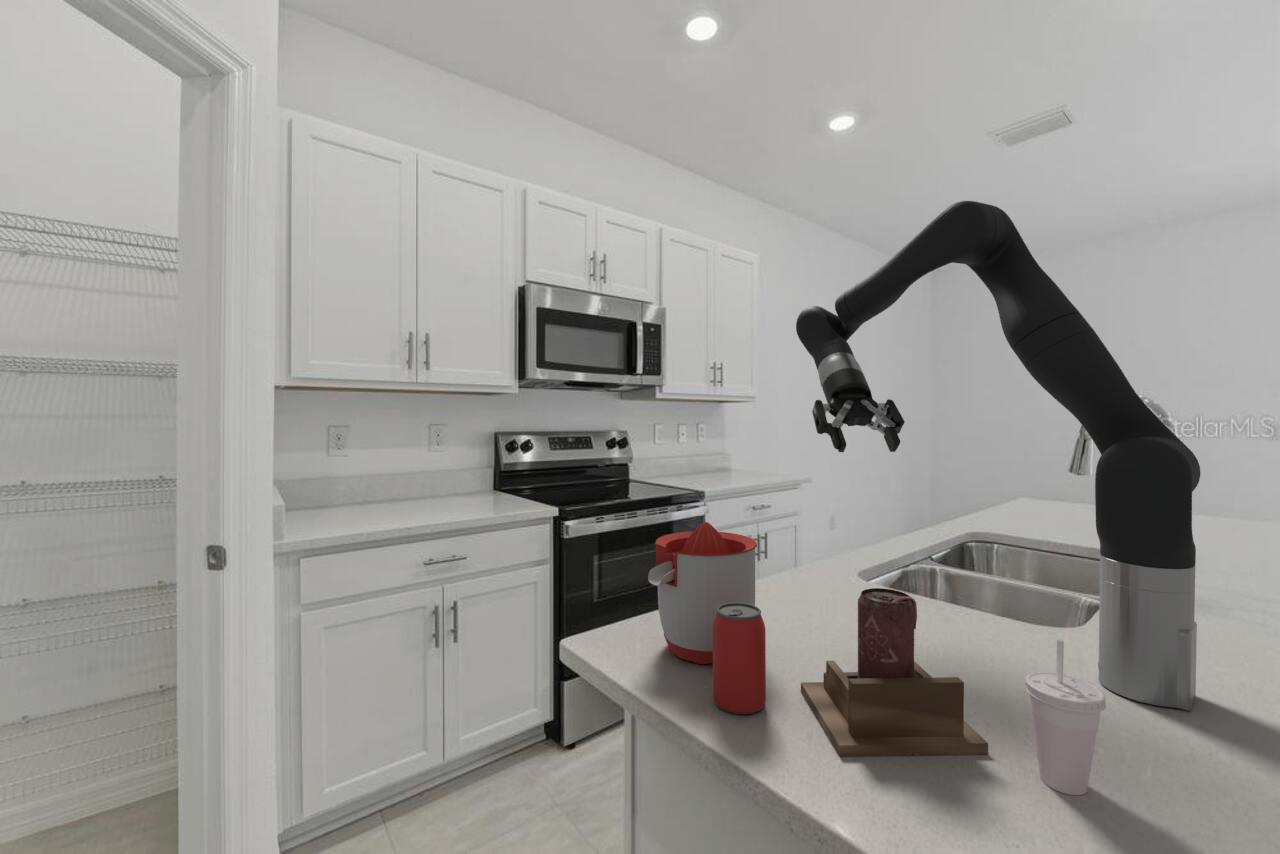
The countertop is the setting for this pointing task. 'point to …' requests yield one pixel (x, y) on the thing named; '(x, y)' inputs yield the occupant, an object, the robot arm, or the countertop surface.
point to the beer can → (739, 658)
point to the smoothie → (1064, 726)
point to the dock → (892, 714)
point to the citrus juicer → (700, 585)
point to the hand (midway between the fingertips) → (869, 448)
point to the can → (886, 634)
